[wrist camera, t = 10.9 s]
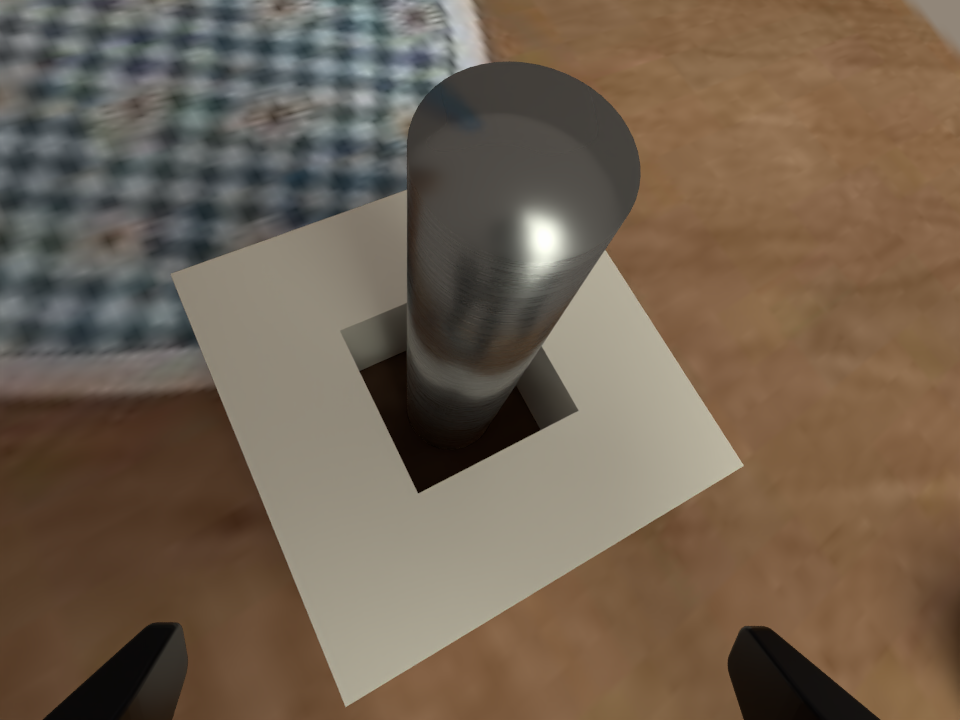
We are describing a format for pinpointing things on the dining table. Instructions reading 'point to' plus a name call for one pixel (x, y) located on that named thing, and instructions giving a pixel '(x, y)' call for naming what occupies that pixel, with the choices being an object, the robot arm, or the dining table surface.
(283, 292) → the collar
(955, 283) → the dining table surface
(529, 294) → the long pin
